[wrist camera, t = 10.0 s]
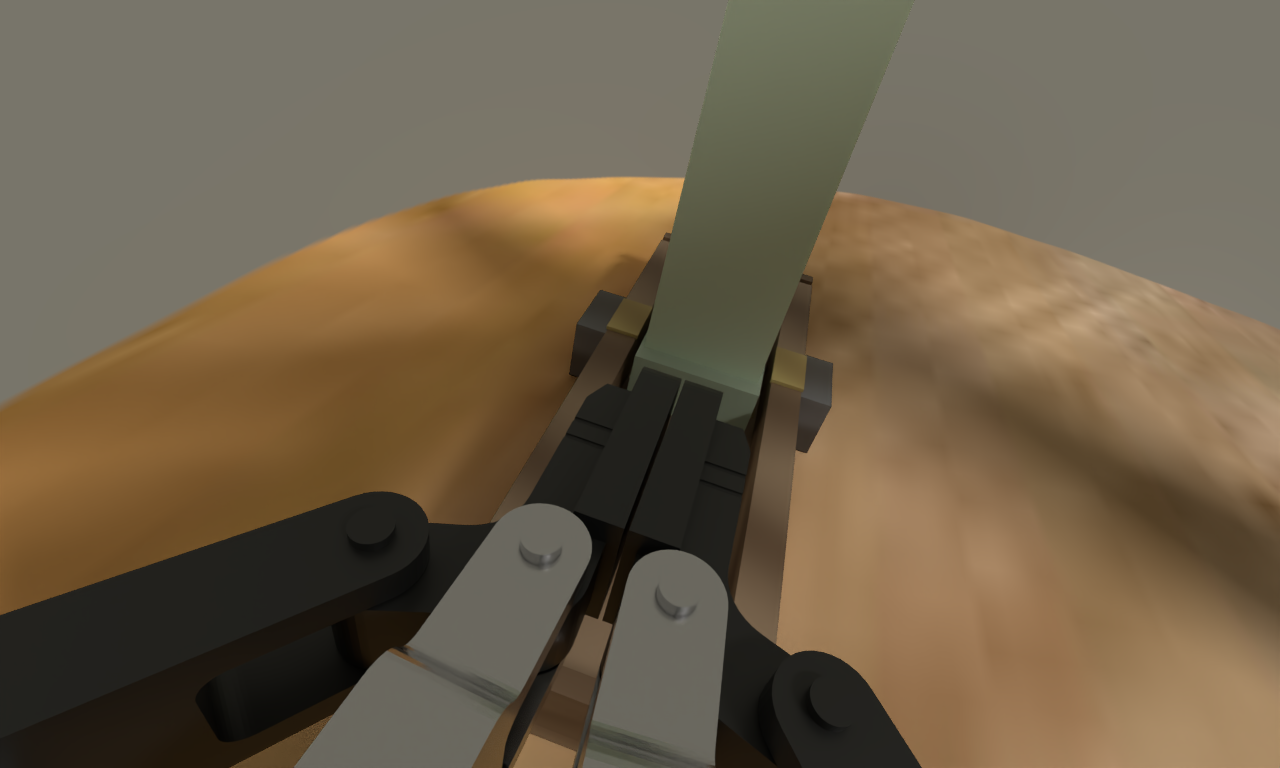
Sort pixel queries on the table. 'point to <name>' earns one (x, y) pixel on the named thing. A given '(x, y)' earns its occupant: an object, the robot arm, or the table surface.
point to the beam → (606, 355)
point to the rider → (762, 183)
